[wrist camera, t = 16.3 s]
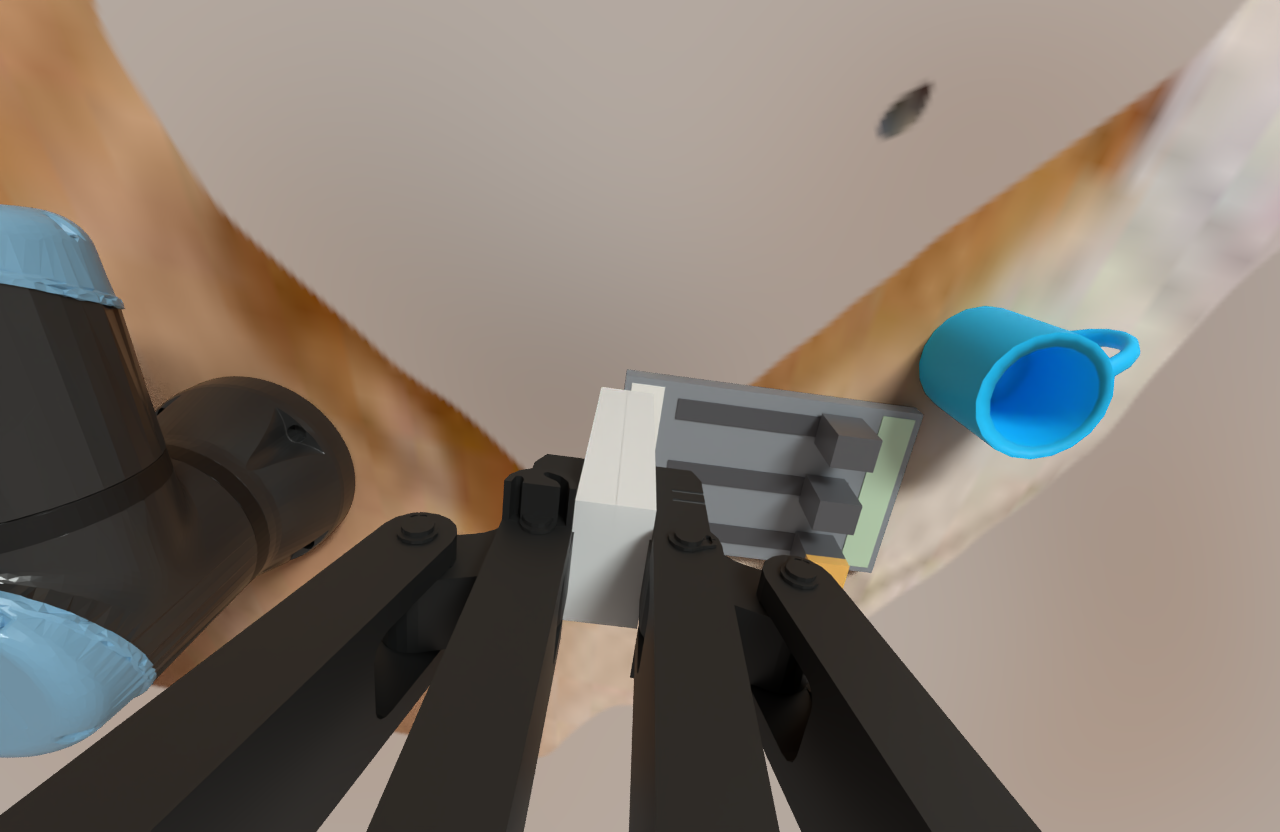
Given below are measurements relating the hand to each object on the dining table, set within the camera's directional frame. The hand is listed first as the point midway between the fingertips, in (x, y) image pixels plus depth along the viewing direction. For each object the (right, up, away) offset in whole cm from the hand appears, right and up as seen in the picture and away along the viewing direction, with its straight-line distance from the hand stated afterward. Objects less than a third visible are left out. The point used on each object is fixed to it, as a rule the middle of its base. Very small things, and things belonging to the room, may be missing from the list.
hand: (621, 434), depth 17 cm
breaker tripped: (+14, -10, +30) cm, 35 cm away
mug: (+27, +5, +26) cm, 38 cm away
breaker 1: (+15, 0, +27) cm, 31 cm away
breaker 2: (+14, -5, +28) cm, 32 cm away
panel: (+10, -4, +30) cm, 31 cm away
